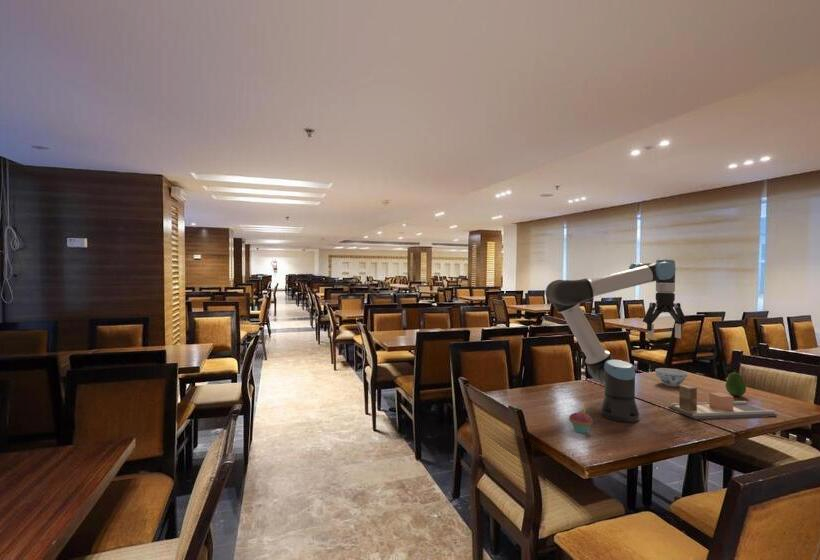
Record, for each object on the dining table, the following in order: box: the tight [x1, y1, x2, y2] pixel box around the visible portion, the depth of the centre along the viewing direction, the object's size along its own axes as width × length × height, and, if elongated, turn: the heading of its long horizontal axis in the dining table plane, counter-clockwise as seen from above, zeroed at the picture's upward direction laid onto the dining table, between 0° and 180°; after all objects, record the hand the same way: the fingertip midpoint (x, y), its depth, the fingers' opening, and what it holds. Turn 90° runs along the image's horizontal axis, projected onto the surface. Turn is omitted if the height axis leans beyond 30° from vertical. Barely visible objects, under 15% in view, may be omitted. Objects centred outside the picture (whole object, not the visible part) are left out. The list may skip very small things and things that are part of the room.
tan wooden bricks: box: [674, 384, 744, 415], centre depth 174 cm, size 26×10×11 cm, turn 95°
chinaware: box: [654, 367, 688, 387], centre depth 220 cm, size 15×15×8 cm
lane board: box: [668, 400, 778, 420], centre depth 175 cm, size 38×15×2 cm, turn 95°
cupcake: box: [568, 402, 594, 434], centre depth 153 cm, size 9×8×12 cm
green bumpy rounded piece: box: [725, 371, 747, 397], centre depth 199 cm, size 8×8×12 cm
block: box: [708, 391, 734, 410], centre depth 175 cm, size 6×6×6 cm
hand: (664, 338), depth 181 cm, fingers open, 13 cm apart
